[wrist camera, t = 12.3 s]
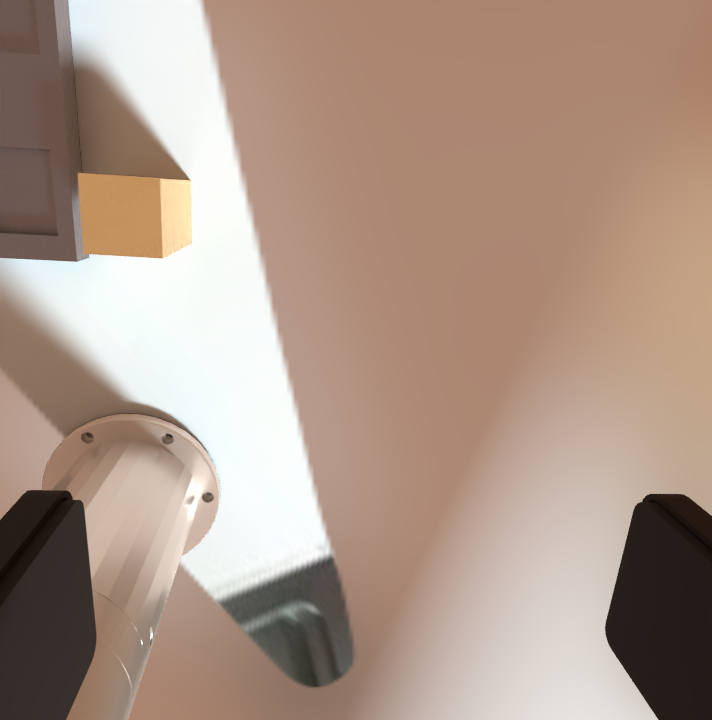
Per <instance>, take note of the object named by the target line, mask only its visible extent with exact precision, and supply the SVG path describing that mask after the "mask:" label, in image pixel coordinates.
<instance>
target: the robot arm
mask: <svg viewBox="0 0 712 720" xmlns="http://www.w3.org/2000/svg"><path fill="white" fill-rule="evenodd" d="M89 433H91V434H92V435H91V434H89ZM167 434H171V435H172V436H171V437H170V436H168V435H167ZM207 492H209V493H207ZM219 500H220V483H219V478H218V474H217V471H216V467H215V465H214V464H213V462H212V460H211V458H210V456H209V454H208V453H207V452H206V450H205V449H204V448H203V447H202V446H201V444H200V443H199V442H198V441H197V440H196V439H194V438H193V437H192V436H191V435H190V434H188V433H187V432H186V431H184V430H182V429H181V428H179V427H177V426H176V425H174V424H172V423H170V422H167V421H164V420H161V419H159V418H156V417H151V416H146V415H140V414H117V415H111V416H105V417H102V418H99V419H96V420H93V421H90V422H88V423H86V424H84V425H83V426H81V427H79V428H78V429H76V430H74V431H73V432H72V433H71V434H70V435H69V436H68V437H67V438H65V439H64V440H63V442H62V443H61V444H60V445H59V446H58V447H57V449H56V450H55V451H54V452H53V454H52V456H51V458H50V459H49V461H48V463H47V466H46V469H45V472H44V476H43V485H42V490H30V491H27V492H26V493H24V494H23V495H22V496H21V498H20V499H19V500H18V501H17V502H16V503H15V504H14V505H13V506H12V508H11V509H10V510H9V511H8V512H7V513H6V514H5V515H4V516H3V518H2V519H1V520H0V720H128V718H129V715H130V711H131V708H132V705H133V702H134V699H135V696H136V693H137V689H138V687H139V683H140V680H141V678H142V675H143V672H144V669H145V666H146V663H147V660H148V656H149V654H150V651H151V647H152V644H153V641H154V638H155V635H156V632H157V629H158V626H159V623H160V620H161V617H162V614H163V610H164V607H165V604H166V601H167V598H168V595H169V592H170V589H171V586H172V583H173V580H174V577H175V574H176V571H177V567H178V565H179V562H180V558H181V556H183V555H184V554H186V553H188V552H189V551H191V550H192V549H193V548H194V547H195V546H197V545H198V544H199V543H200V542H201V541H202V539H203V538H204V537H205V536H206V535H207V533H208V532H209V530H210V528H211V526H212V524H213V522H214V520H215V517H216V514H217V510H218V506H219ZM605 631H606V637H607V640H608V643H609V646H610V647H611V649H612V651H613V652H614V654H615V655H616V657H617V658H618V660H619V661H620V663H621V664H622V665H623V667H624V669H625V670H626V672H627V673H628V675H629V676H630V678H631V679H632V681H633V682H634V684H635V685H636V687H637V688H638V690H639V691H640V693H641V694H642V696H643V697H644V699H645V700H646V702H647V703H648V705H649V706H650V708H651V709H652V711H653V712H654V714H655V715H656V717H657V718H658V720H712V516H711V515H710V514H708V513H707V512H706V511H705V510H703V509H702V508H701V507H700V506H699V505H697V504H696V503H695V502H694V501H692V500H691V499H690V498H688V497H687V496H685V495H682V494H649V495H647V496H646V497H645V498H644V499H643V501H642V502H640V503H638V504H637V505H636V506H635V509H634V511H633V515H632V519H631V523H630V527H629V532H628V536H627V539H626V544H625V548H624V552H623V556H622V560H621V564H620V568H619V572H618V576H617V580H616V584H615V588H614V592H613V596H612V600H611V604H610V609H609V612H608V616H607V620H606V626H605Z"/></svg>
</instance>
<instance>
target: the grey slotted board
mask: <svg viewBox="0 0 712 720" xmlns="http://www.w3.org/2000/svg"><path fill="white" fill-rule="evenodd" d="M78 173H82V166H81V154H80V142H79V130H78V117H77V105H76V93H75V81H74V68H73V56H72V44H71V32H70V19H69V7H68V0H0V258H16V259H36V260H56V261H76V262H77V261H80V260H83V259H86V258H89V254H84V253H83V240H82V227H81V213H80V200H79V187H78Z"/></svg>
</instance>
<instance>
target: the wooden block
mask: <svg viewBox="0 0 712 720" xmlns="http://www.w3.org/2000/svg"><path fill="white" fill-rule="evenodd" d="M78 187H79V200H80V213H81V227H82V240H83V253H84V254H99V255H116V256H133V257H149V258H164V257H166V256H168V255H170V254H172V253H174V252H176V251H178V250H180V249H182V248H183V247H185V246H187V245H189V244H191V243H192V237H191V180H178V179H164V178H151V177H138V176H124V175H107V174H90V173H78Z"/></svg>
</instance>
